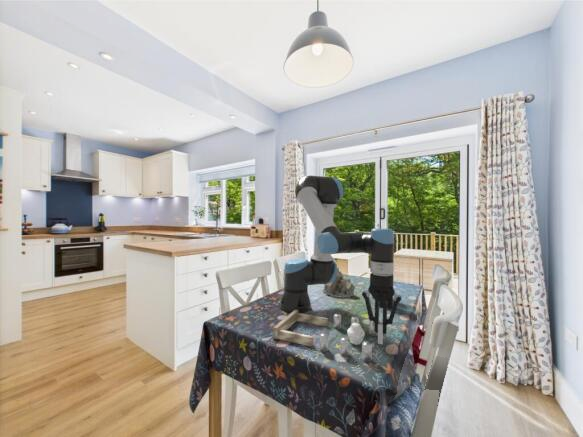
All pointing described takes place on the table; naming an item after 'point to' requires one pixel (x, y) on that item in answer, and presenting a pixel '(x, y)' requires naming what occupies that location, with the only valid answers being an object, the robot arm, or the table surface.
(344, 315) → the table surface
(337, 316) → the spacer field
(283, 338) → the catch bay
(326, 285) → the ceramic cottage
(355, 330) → the grey faceted vase
